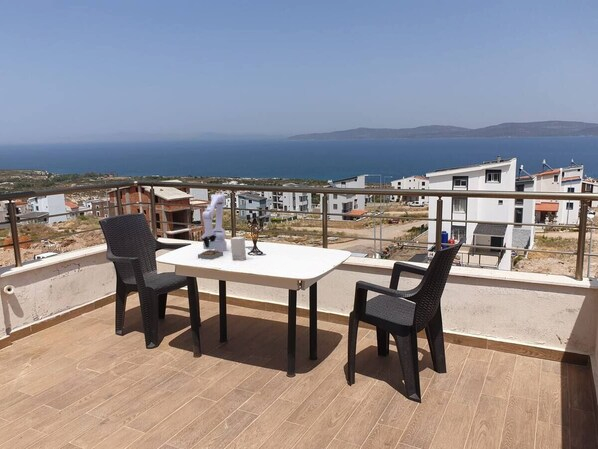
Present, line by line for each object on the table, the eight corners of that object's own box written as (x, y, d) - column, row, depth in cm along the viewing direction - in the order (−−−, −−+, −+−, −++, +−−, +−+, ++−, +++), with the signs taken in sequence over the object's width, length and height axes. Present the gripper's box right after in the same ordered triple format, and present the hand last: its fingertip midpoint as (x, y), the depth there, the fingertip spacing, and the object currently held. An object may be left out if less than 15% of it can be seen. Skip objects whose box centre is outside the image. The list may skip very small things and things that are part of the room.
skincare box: (246, 258, 308) (245, 236, 306) (242, 260, 302) (241, 238, 299) (235, 257, 310) (234, 236, 308) (231, 260, 304) (230, 238, 302)
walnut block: (209, 255, 318) (209, 249, 317) (218, 256, 314) (218, 250, 314) (202, 257, 311) (202, 252, 310) (211, 258, 307) (211, 253, 307)
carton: (208, 247, 316) (207, 240, 315) (215, 248, 312) (215, 241, 312) (203, 249, 311) (203, 242, 311) (211, 249, 308) (210, 242, 307)
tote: (209, 255, 321) (209, 250, 321) (223, 256, 315) (222, 252, 315) (198, 259, 310) (197, 254, 310) (212, 260, 304) (211, 255, 304)
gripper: (210, 226, 318) (211, 244, 320) (197, 229, 305) (198, 248, 307) (218, 226, 314) (219, 244, 316) (205, 229, 302) (206, 248, 304)
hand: (209, 246), depth 312 cm, fingers closed on carton, 5 cm apart
